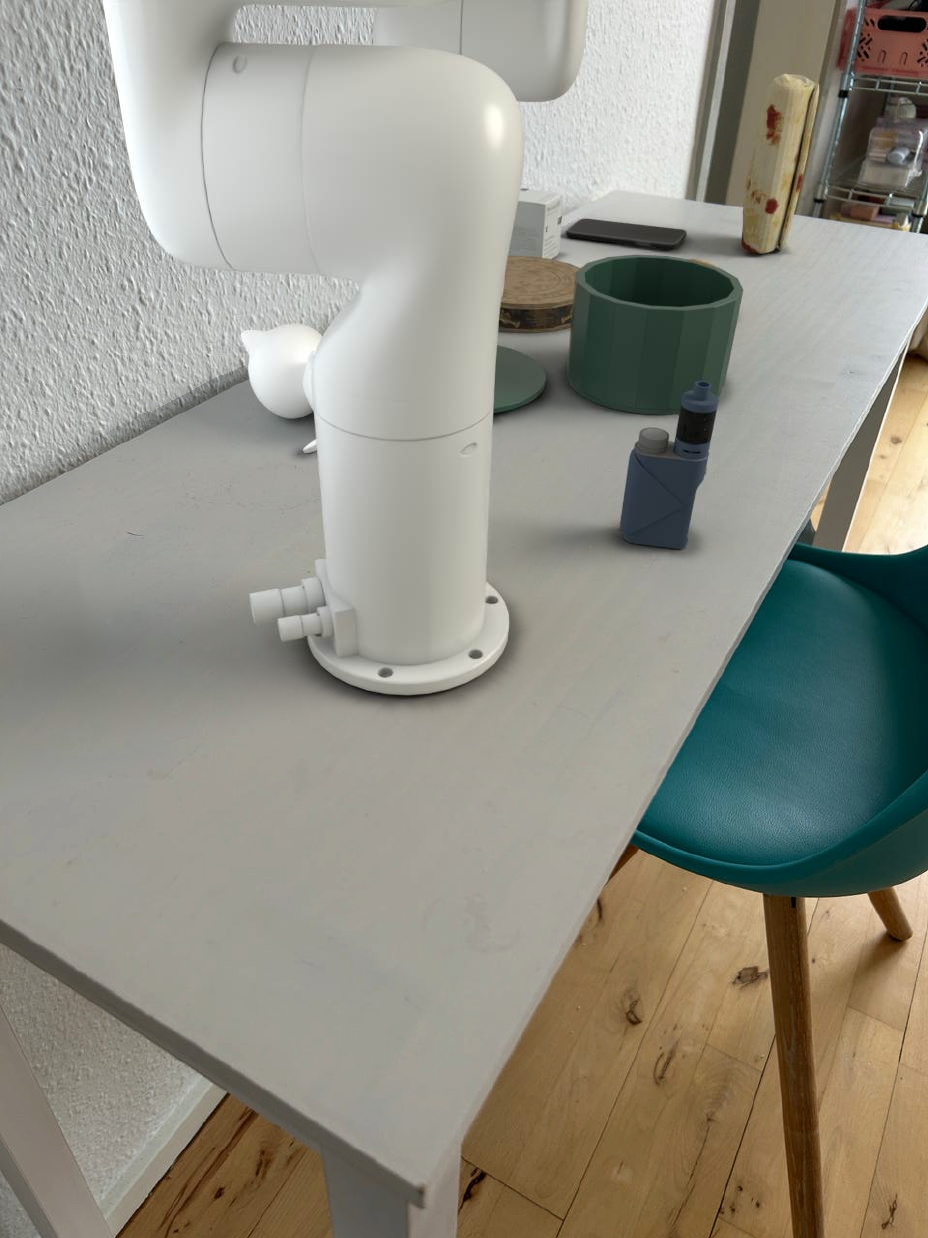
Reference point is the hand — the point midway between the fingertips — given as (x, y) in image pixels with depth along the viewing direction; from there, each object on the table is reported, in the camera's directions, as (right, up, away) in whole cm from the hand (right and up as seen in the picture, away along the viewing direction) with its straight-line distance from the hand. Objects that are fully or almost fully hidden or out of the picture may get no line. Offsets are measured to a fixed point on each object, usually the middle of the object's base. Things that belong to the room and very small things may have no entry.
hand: (461, 364), depth 88 cm
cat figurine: (-13, -7, -6) cm, 16 cm away
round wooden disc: (+6, +11, +18) cm, 22 cm away
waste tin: (+17, -1, +3) cm, 18 cm away
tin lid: (0, -1, +1) cm, 1 cm away
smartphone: (+22, +27, +39) cm, 52 cm away
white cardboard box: (+8, +22, +32) cm, 39 cm away
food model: (+39, +25, +36) cm, 59 cm away
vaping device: (+14, -18, -19) cm, 29 cm away
